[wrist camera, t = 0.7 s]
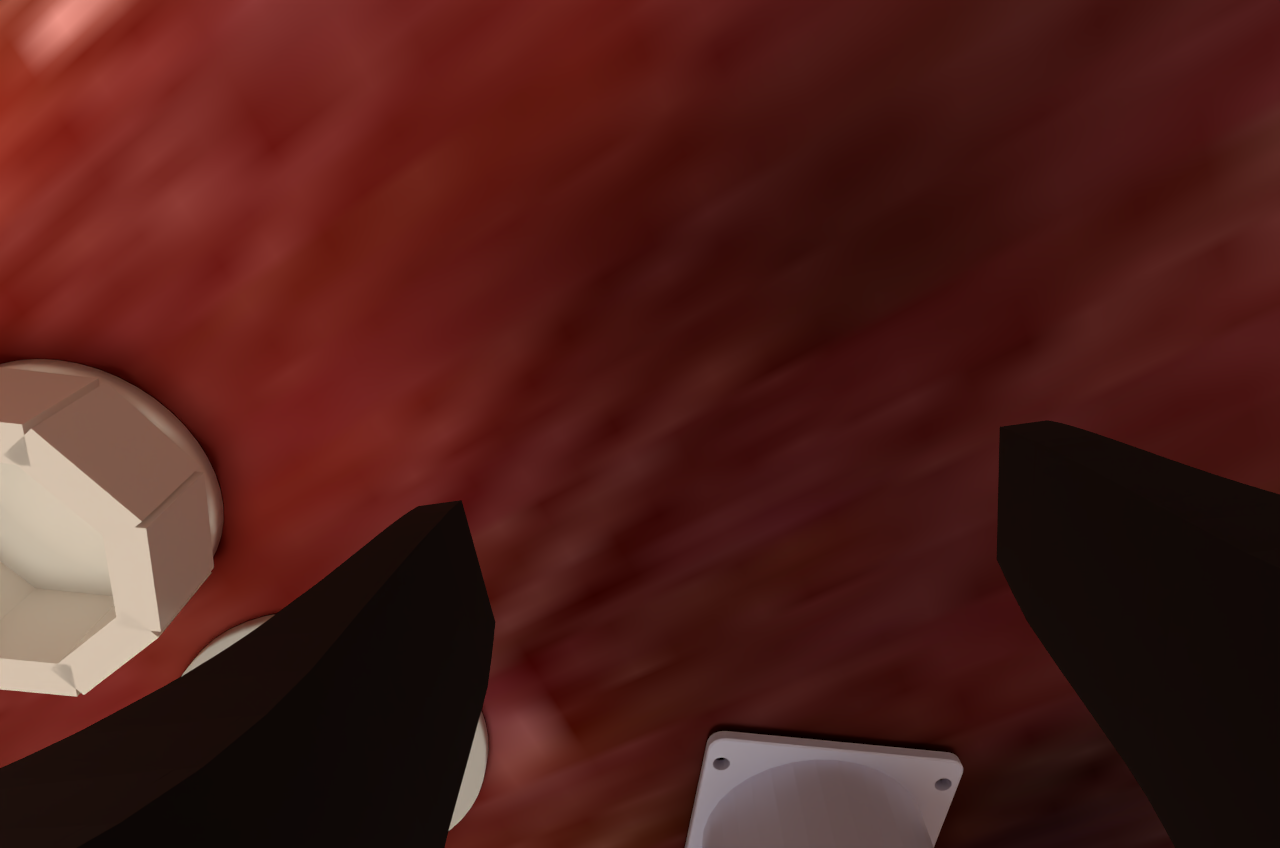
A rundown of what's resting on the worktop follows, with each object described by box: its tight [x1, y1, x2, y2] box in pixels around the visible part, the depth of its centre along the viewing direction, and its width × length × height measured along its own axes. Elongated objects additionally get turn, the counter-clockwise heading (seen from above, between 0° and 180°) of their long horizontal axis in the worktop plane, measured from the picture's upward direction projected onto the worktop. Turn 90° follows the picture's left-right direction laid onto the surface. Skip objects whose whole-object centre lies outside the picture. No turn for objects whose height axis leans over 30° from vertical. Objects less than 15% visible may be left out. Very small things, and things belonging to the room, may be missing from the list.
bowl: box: [0, 359, 224, 696], centre depth 21 cm, size 8×8×4 cm
